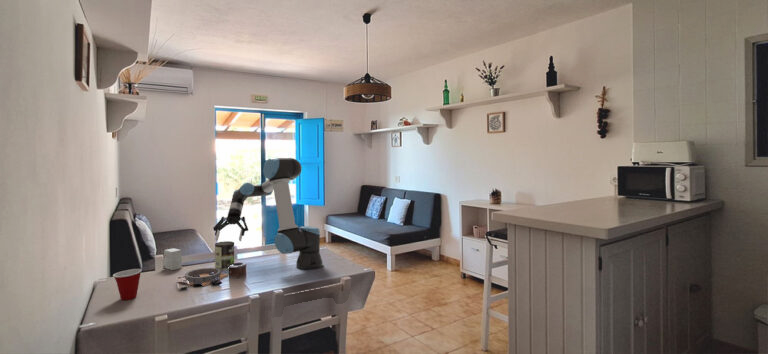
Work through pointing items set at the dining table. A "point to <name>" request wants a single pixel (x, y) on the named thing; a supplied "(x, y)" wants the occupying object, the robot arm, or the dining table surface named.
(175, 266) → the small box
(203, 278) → the collar plate
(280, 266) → the dining table surface
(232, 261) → the coffee can
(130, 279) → the plastic cup
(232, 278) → the dining table surface
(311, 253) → the robot arm
